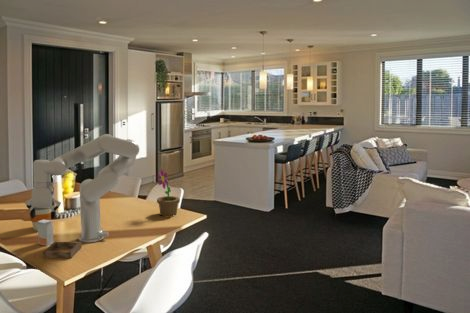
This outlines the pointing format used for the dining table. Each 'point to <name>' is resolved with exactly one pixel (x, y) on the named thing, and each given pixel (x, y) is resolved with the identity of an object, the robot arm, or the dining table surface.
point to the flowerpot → (167, 199)
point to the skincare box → (45, 232)
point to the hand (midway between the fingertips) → (43, 218)
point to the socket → (62, 254)
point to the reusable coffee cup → (41, 216)
